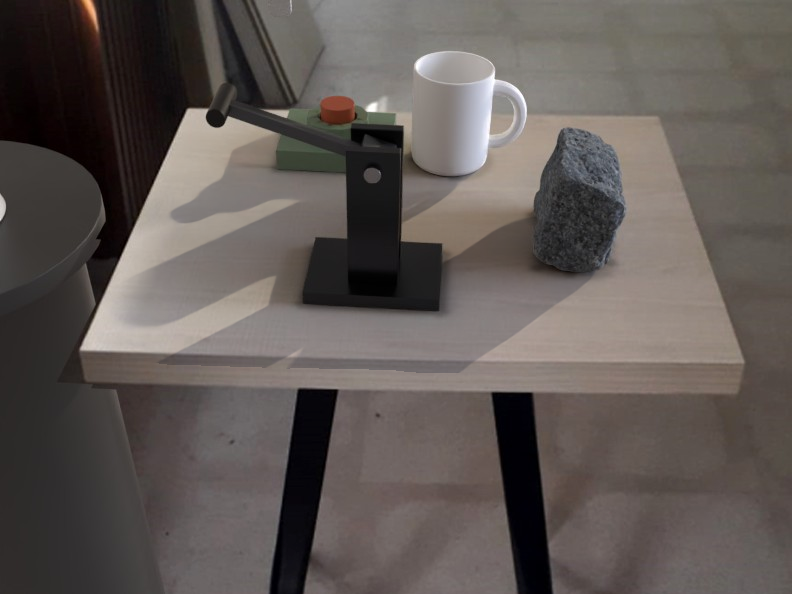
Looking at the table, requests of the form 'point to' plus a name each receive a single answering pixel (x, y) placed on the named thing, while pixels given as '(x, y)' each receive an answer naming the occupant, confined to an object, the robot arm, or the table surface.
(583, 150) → the stone
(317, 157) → the button block
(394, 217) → the lever bracket
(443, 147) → the mug
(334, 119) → the stop button
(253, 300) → the table surface
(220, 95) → the press lever
